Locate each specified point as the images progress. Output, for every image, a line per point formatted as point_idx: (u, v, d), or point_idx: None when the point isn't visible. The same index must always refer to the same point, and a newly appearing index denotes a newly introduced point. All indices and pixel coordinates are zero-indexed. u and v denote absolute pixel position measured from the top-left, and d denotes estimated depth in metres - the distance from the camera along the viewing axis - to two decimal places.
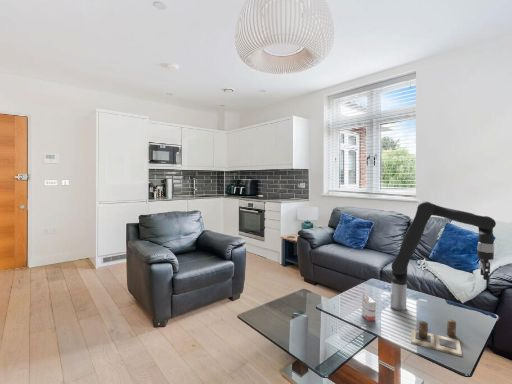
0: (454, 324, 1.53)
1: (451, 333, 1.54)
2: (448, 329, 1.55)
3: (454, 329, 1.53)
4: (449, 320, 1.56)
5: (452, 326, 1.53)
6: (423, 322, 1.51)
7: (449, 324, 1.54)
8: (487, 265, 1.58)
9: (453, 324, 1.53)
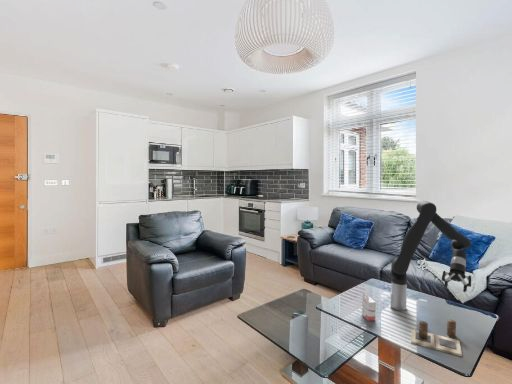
0: (454, 324, 1.53)
1: (451, 333, 1.54)
2: (448, 329, 1.55)
3: (454, 329, 1.53)
4: (449, 320, 1.56)
5: (452, 326, 1.53)
6: (423, 322, 1.51)
7: (449, 324, 1.54)
8: None
9: (453, 324, 1.53)
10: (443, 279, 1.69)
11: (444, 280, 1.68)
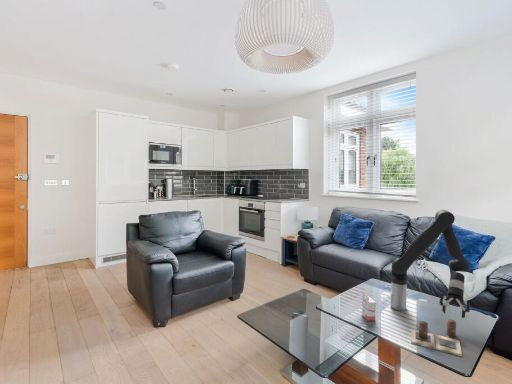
0: (454, 324, 1.53)
1: (451, 333, 1.54)
2: (448, 329, 1.55)
3: (454, 329, 1.53)
4: (449, 320, 1.56)
5: (452, 326, 1.53)
6: (423, 322, 1.51)
7: (449, 324, 1.54)
8: (469, 303, 1.58)
9: (453, 324, 1.53)
10: (441, 303, 1.64)
11: (442, 304, 1.64)
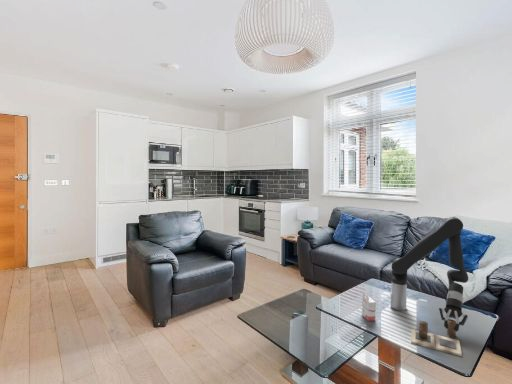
0: (454, 324, 1.53)
1: (451, 333, 1.54)
2: (448, 329, 1.55)
3: (454, 329, 1.53)
4: (449, 320, 1.56)
5: (452, 326, 1.53)
6: (423, 322, 1.51)
7: (449, 324, 1.54)
8: (466, 318, 1.54)
9: (453, 324, 1.53)
10: (443, 318, 1.58)
11: (444, 319, 1.58)
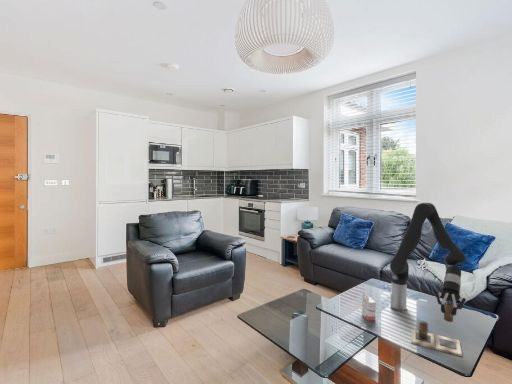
0: (451, 308, 1.43)
1: (448, 318, 1.43)
2: (445, 313, 1.44)
3: (451, 313, 1.43)
4: (446, 304, 1.45)
5: (449, 310, 1.43)
6: (423, 322, 1.51)
7: (446, 308, 1.44)
8: (464, 301, 1.43)
9: (450, 308, 1.43)
10: (439, 302, 1.48)
11: (440, 303, 1.47)
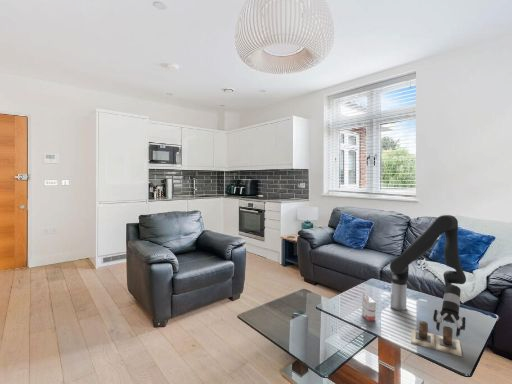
0: (450, 331, 1.43)
1: (447, 341, 1.44)
2: (444, 337, 1.45)
3: (450, 337, 1.44)
4: (445, 327, 1.46)
5: (448, 334, 1.44)
6: (423, 322, 1.51)
7: (445, 331, 1.44)
8: (465, 320, 1.44)
9: (449, 331, 1.43)
10: (435, 320, 1.50)
11: (436, 321, 1.49)
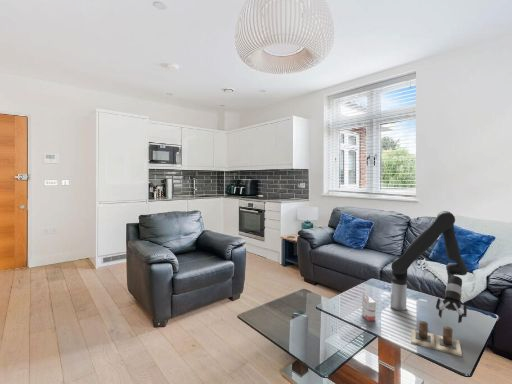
0: (450, 331, 1.43)
1: (447, 341, 1.44)
2: (444, 337, 1.45)
3: (450, 337, 1.44)
4: (445, 327, 1.46)
5: (448, 334, 1.44)
6: (423, 322, 1.51)
7: (445, 331, 1.44)
8: (466, 308, 1.55)
9: (449, 331, 1.43)
10: (437, 307, 1.61)
11: (438, 308, 1.60)
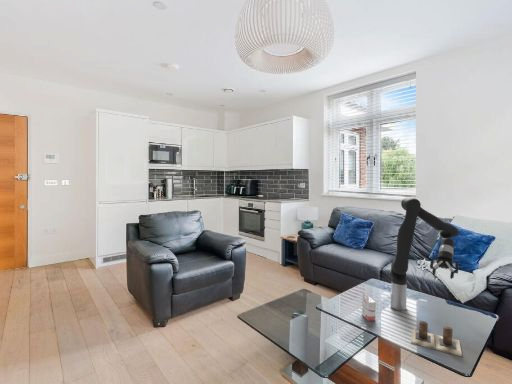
0: (450, 331, 1.43)
1: (447, 341, 1.44)
2: (444, 337, 1.45)
3: (450, 337, 1.44)
4: (445, 327, 1.46)
5: (448, 334, 1.44)
6: (423, 322, 1.51)
7: (445, 331, 1.44)
8: None
9: (449, 331, 1.43)
10: (431, 266, 1.73)
11: (432, 267, 1.72)
